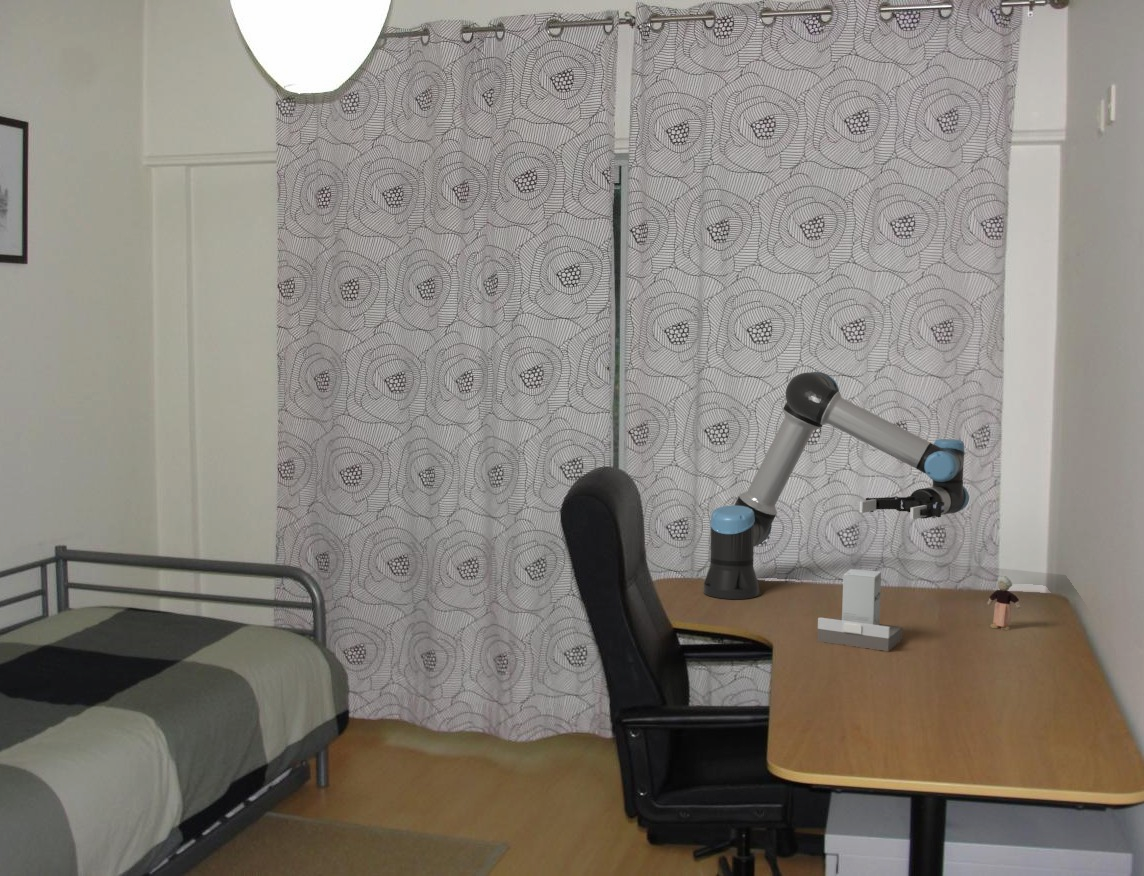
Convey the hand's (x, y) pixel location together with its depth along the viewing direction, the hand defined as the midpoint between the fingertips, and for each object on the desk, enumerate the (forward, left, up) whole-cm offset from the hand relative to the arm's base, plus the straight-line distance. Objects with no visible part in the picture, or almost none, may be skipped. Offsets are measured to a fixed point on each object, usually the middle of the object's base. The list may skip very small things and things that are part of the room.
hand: (885, 510), depth 263 cm
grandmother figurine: (+26, +11, -28) cm, 40 cm away
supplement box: (0, -18, -25) cm, 31 cm away
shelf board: (0, -19, -28) cm, 34 cm away
